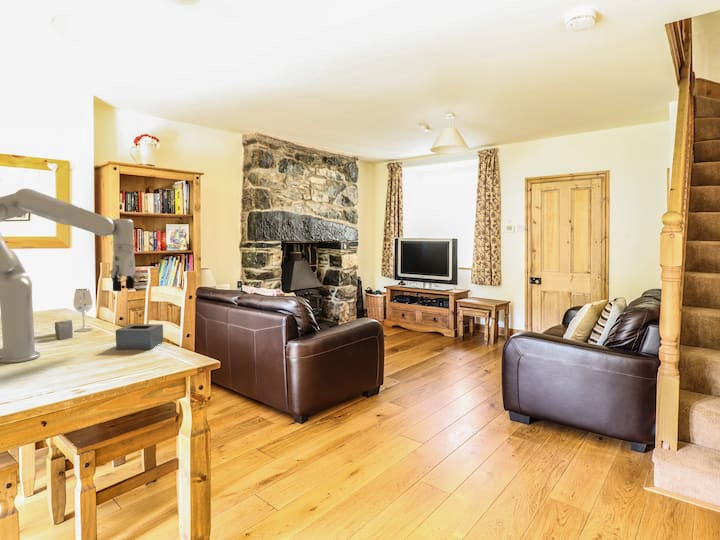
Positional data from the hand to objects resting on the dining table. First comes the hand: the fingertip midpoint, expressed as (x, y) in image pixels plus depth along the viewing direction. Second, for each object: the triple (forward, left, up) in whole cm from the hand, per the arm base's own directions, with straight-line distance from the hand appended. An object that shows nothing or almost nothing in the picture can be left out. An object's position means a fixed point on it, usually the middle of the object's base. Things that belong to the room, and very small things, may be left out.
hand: (123, 289), depth 188 cm
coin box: (+5, -4, -24) cm, 25 cm away
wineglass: (-16, +43, -24) cm, 52 cm away
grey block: (-24, +29, -24) cm, 45 cm away
